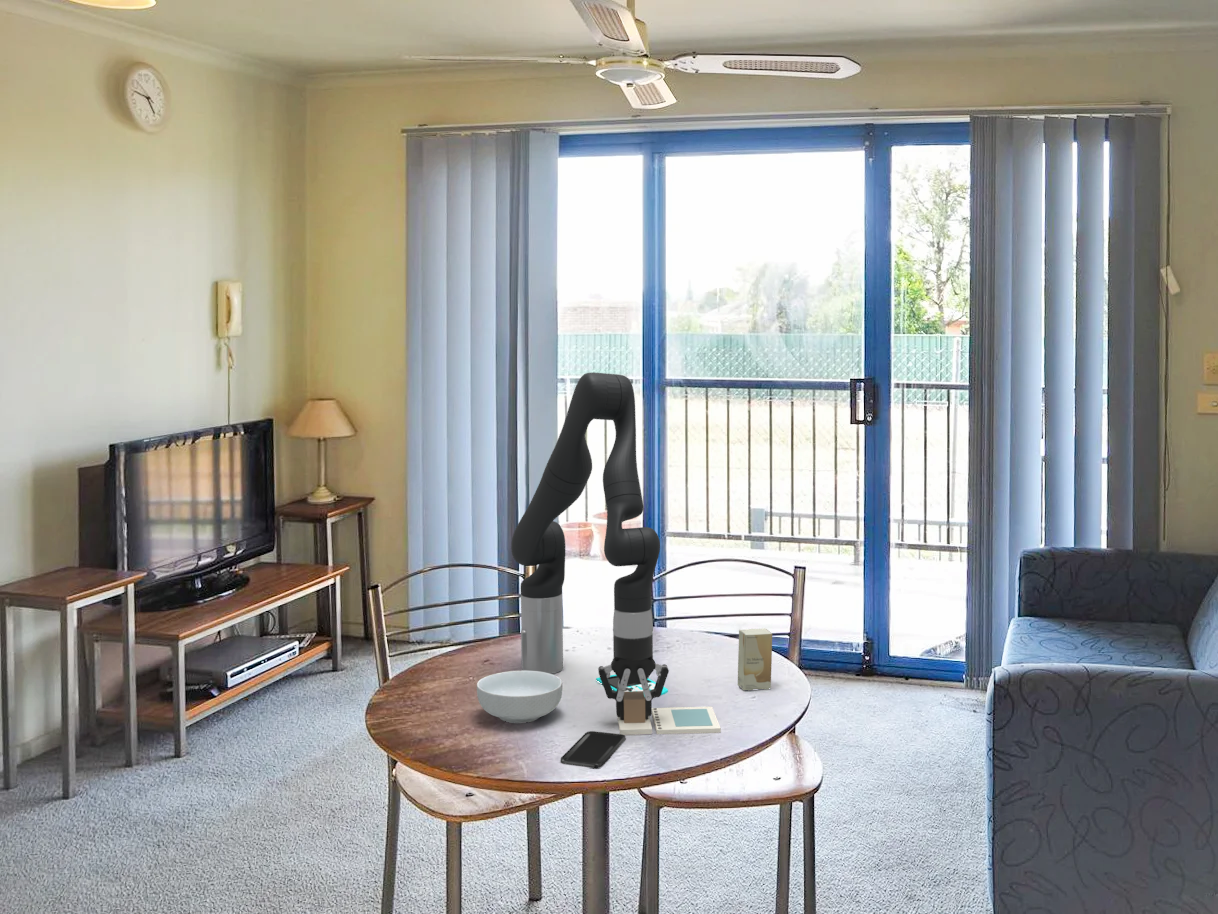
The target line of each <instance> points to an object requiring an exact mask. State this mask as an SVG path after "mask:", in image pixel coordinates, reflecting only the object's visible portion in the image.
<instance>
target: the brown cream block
mask: <svg viewBox="0 0 1218 914" xmlns="http://www.w3.org/2000/svg"><path fill="white" fill-rule="evenodd" d="M623 700H624V720H620V717H617V723H618V728H619V729H618V730H619V731H618V732H619V734H622V735H625V736H635V735H636V736H639V735H640V736H641V735H652V734H653V727H652V722H651V719H650V716H648V719H645V697H644V692H643V691H629V692H624V695H623Z"/></svg>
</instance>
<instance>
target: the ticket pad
mask: <svg viewBox="0 0 1218 914" xmlns="http://www.w3.org/2000/svg"><path fill="white" fill-rule="evenodd" d="M651 716H652V718H653V719H652V720H653V723H654V728H655V732H656V735H682V734H683V735H684V734H688V735H689V734H719V733H720V734H721V732H722V730H721V728H722V727H721V726H720V723H719V721H718V718H717V716H716V713H715V710H714V707H713V706H689V707H688V706H683V707H677V706H676V707H652V714H651Z"/></svg>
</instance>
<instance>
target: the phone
mask: <svg viewBox="0 0 1218 914" xmlns="http://www.w3.org/2000/svg"><path fill="white" fill-rule="evenodd" d="M626 737H627V735H622V734H620V733H611V732H604V731H603V732H602V731H595V730H594V731H593V730H589V731H587V732H585V733H584V734H583V735H581V737H580V738H579V739H578V740H577V741H576V742H575V743H574V744H573V745H572V746H571V747H570V748H569V749H568V750H567V751H566V752H565V753H563V755H562V756H561V757H560V763H561V764H563V765H569V766H570V765H571V766H576V767H577V766H578V767H584V768H590V769H594V770H599V769H601V768H602V767H603V766H604V765H606V763H607V762H608V761H609V760H610V759H611V758H612V757H613V755H614V754H615V752H617V750H618V749H619V748H620V747H621V746H622V744H624V743H625V741H626Z"/></svg>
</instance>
